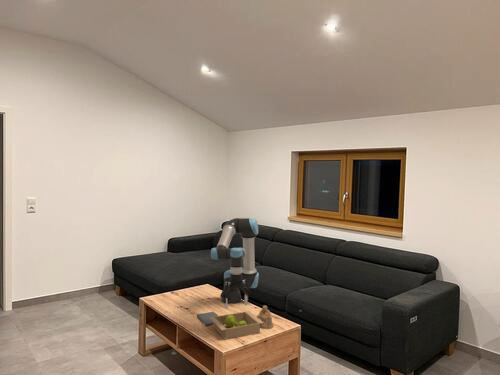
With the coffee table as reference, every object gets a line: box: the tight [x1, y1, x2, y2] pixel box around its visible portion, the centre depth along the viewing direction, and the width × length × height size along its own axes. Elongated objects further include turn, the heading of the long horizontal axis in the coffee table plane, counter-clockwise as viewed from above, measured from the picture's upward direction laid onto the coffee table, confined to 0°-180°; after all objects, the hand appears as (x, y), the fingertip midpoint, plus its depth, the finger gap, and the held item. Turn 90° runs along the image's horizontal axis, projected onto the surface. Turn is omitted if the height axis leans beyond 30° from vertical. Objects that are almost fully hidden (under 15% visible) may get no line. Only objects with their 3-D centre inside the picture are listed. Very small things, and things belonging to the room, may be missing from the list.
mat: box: [196, 311, 218, 327], centre depth 260 cm, size 12×19×2 cm, turn 25°
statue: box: [256, 304, 275, 330], centre depth 252 cm, size 12×14×10 cm
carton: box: [210, 310, 263, 340], centre depth 244 cm, size 28×22×6 cm
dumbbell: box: [224, 314, 248, 328], centre depth 244 cm, size 16×8×7 cm, turn 38°
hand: (236, 306), depth 244 cm, fingers open, 13 cm apart
